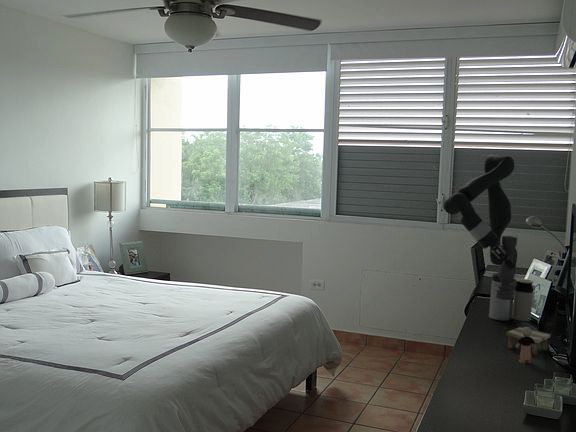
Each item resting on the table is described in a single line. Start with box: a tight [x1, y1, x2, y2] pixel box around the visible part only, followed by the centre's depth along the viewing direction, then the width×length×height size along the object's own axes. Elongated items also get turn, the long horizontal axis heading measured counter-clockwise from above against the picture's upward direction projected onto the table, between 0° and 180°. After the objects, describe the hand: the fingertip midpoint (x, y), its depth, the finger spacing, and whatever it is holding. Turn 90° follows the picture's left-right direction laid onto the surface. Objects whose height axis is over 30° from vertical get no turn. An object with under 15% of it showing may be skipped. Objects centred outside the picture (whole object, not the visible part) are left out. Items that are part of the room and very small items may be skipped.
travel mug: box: [511, 278, 534, 322], centre depth 275 cm, size 8×8×18 cm
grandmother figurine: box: [515, 326, 536, 364], centre depth 214 cm, size 8×4×13 cm, turn 111°
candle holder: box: [496, 235, 518, 301], centre depth 244 cm, size 6×6×25 cm
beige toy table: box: [505, 326, 552, 356], centre depth 231 cm, size 12×12×6 cm
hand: (512, 266), depth 243 cm, fingers closed on candle holder, 4 cm apart
